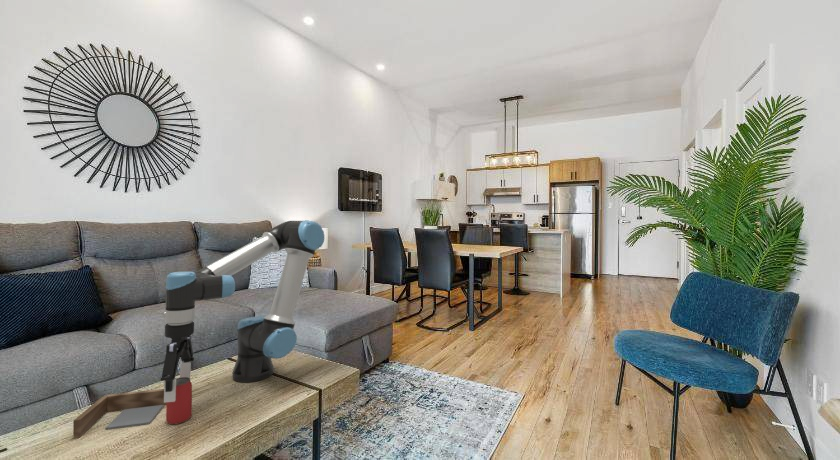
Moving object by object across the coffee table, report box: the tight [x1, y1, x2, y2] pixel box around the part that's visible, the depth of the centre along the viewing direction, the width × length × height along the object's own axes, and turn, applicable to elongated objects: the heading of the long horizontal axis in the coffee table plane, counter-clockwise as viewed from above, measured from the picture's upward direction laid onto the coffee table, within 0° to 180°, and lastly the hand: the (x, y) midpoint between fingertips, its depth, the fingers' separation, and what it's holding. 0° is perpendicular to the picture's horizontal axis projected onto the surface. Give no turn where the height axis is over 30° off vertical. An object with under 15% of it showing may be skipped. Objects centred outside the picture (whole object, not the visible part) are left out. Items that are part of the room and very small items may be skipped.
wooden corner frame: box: [72, 388, 166, 439], centre depth 110 cm, size 21×16×5 cm
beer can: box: [165, 377, 193, 425], centre depth 110 cm, size 7×7×12 cm
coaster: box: [105, 405, 165, 431], centre depth 111 cm, size 11×11×1 cm
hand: (177, 391), depth 110 cm, fingers open, 13 cm apart
